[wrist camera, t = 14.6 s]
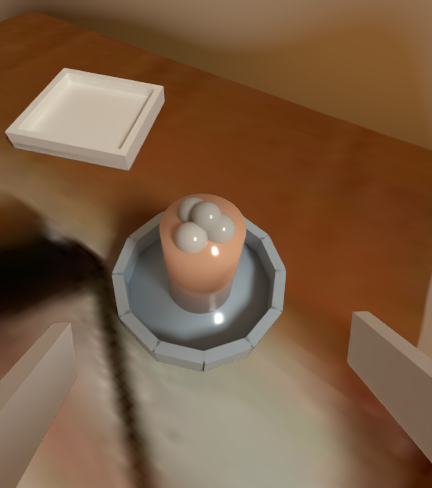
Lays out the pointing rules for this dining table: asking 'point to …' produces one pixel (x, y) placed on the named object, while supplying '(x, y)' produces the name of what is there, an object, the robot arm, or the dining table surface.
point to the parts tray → (89, 118)
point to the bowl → (190, 324)
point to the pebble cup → (201, 250)
